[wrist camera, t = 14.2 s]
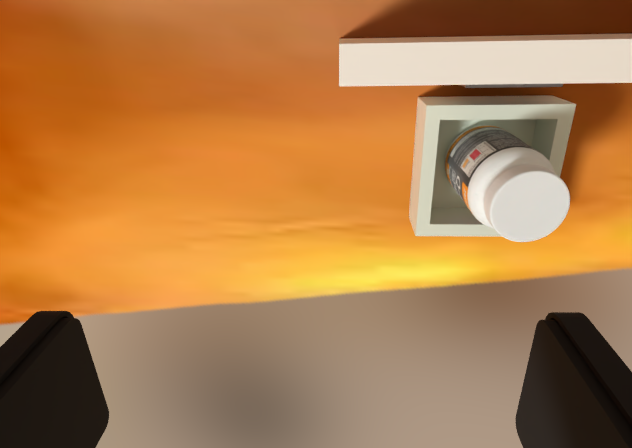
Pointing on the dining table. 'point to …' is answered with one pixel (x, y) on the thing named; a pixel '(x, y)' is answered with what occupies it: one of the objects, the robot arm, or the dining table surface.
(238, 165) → the dining table surface
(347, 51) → the board
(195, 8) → the dining table surface
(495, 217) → the pill bottle
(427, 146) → the pale green square tray
